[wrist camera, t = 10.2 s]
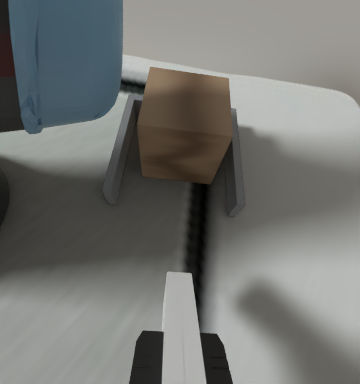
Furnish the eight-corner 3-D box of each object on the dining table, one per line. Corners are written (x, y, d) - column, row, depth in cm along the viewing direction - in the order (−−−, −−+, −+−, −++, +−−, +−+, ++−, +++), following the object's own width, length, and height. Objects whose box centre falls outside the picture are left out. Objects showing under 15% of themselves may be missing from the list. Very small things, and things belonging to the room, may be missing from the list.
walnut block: (142, 176, 24) (136, 124, 17) (151, 126, 28) (150, 66, 21) (210, 184, 24) (232, 136, 17) (210, 134, 28) (228, 78, 21)
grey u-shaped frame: (108, 203, 22) (101, 189, 19) (131, 113, 28) (128, 94, 26) (234, 216, 23) (245, 205, 20) (228, 126, 29) (236, 108, 27)
